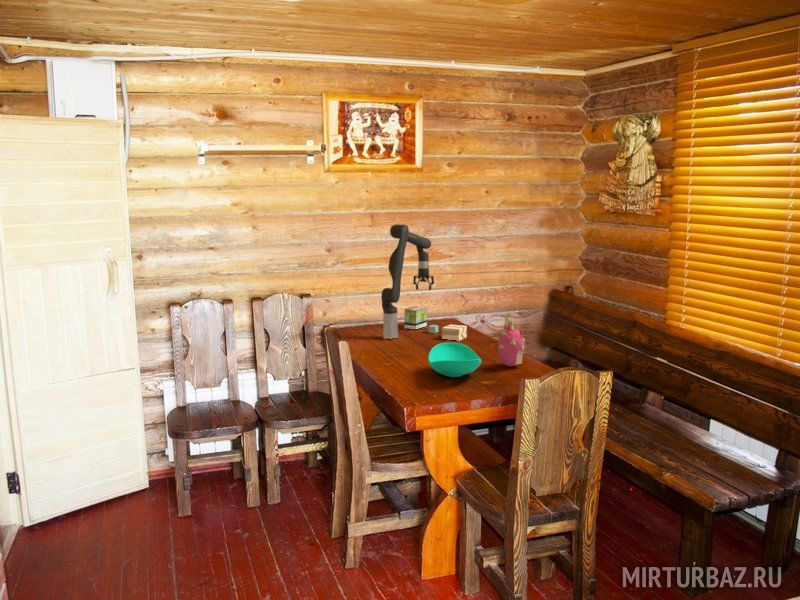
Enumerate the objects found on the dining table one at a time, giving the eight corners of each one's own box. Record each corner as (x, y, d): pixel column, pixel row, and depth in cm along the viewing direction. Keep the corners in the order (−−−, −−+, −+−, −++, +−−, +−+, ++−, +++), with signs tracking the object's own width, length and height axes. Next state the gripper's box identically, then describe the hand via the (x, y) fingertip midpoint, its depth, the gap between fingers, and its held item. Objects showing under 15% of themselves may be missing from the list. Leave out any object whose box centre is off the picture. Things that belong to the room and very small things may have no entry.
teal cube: (435, 334, 468) (435, 326, 467) (428, 333, 471) (428, 326, 470) (438, 332, 472) (438, 325, 472) (431, 332, 475) (431, 324, 474)
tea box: (416, 331, 478) (416, 309, 476) (404, 329, 484) (403, 308, 481) (427, 326, 491) (427, 306, 488) (415, 325, 496) (414, 305, 494)
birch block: (458, 341, 446) (458, 329, 444) (442, 339, 452) (441, 327, 451) (466, 337, 456) (466, 325, 455) (450, 336, 462) (450, 324, 461)
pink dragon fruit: (511, 371, 375) (512, 317, 370) (491, 367, 384) (491, 313, 379) (530, 364, 387) (530, 311, 382) (510, 360, 397) (510, 309, 391)
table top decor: (488, 385, 352) (488, 359, 350) (434, 387, 349) (433, 362, 347) (473, 364, 391) (472, 341, 388) (424, 366, 388) (423, 343, 386)
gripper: (412, 267, 482) (412, 291, 484) (432, 268, 479) (433, 291, 482) (414, 266, 489) (414, 289, 492) (434, 266, 486) (434, 289, 489)
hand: (423, 290), depth 487 cm, fingers open, 8 cm apart
